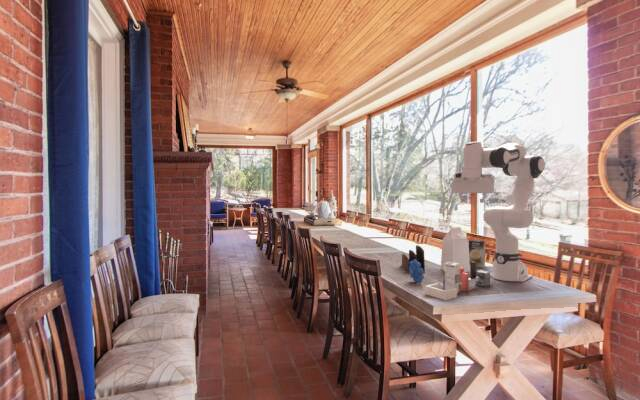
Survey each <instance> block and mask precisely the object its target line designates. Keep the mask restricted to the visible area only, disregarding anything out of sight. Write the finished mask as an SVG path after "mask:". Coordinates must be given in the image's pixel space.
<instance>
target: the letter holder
mask: <svg viewBox="0 0 640 400" xmlns="http://www.w3.org/2000/svg"><path fill="white" fill-rule="evenodd" d="M414 259H415V260H417V262H420V263H421V267H420V268H422V269H423V270H424V272H423V273H422V274H425V273H426V269H425V268H426V267H425V250H424V249H423V247H422V246H419V245H417V244H416V245H415V251H414V250H411V249H409V250H408V256H407V254H405V253H402V254H401V267H402V268H403V269H404V270H405V271H406V273H408V274H410V272H409V271H410V270H409V267H410V262H411V261H413V260H414Z"/></svg>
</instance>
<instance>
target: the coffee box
mask: <svg viewBox="0 0 640 400" xmlns="http://www.w3.org/2000/svg"><path fill="white" fill-rule="evenodd" d="M468 241H469V264H470V262H476V268H484V267H485V266H486V240H484V239H483V240H481V239H468Z"/></svg>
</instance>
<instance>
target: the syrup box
mask: <svg viewBox="0 0 640 400" xmlns="http://www.w3.org/2000/svg"><path fill="white" fill-rule="evenodd" d="M459 269H460V264H459V263H455V262H447V263H445V264H444V270H443V274H442V275H443V278H442V281H443V283H442V290H445V291H446V290H450V289H454V288H456V289H457V294H459V293H460V290H459Z"/></svg>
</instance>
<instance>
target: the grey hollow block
mask: <svg viewBox="0 0 640 400" xmlns="http://www.w3.org/2000/svg"><path fill="white" fill-rule="evenodd" d="M490 274H491V271H486V270H482V269H480V270H476V276H481V275H483V280H480V281H476V282H474V283H475V286H479V287H484V288H486V286H487V287H489V286H491V278H490Z"/></svg>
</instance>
